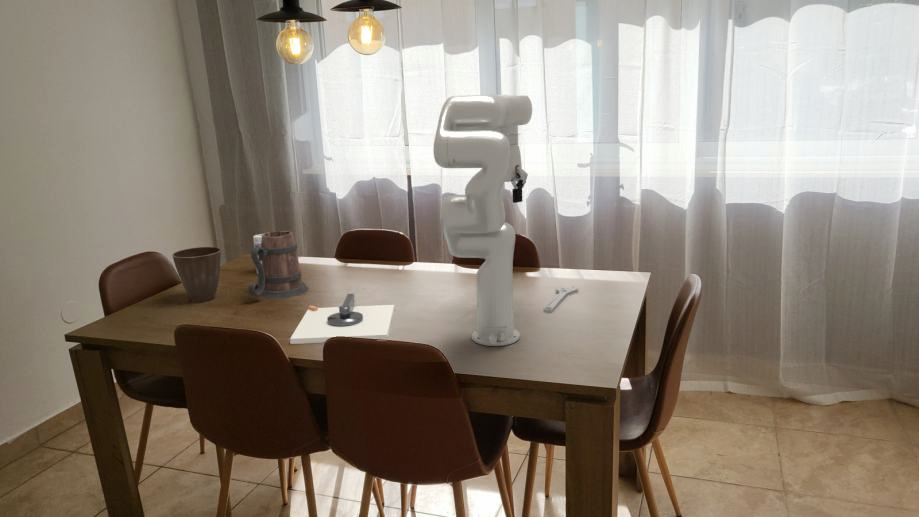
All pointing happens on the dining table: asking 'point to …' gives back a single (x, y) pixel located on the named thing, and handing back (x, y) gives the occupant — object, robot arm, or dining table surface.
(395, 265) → the dining table surface
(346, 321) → the dial
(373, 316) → the dial board
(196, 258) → the plant pot
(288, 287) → the tankard
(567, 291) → the adjustable wrench
